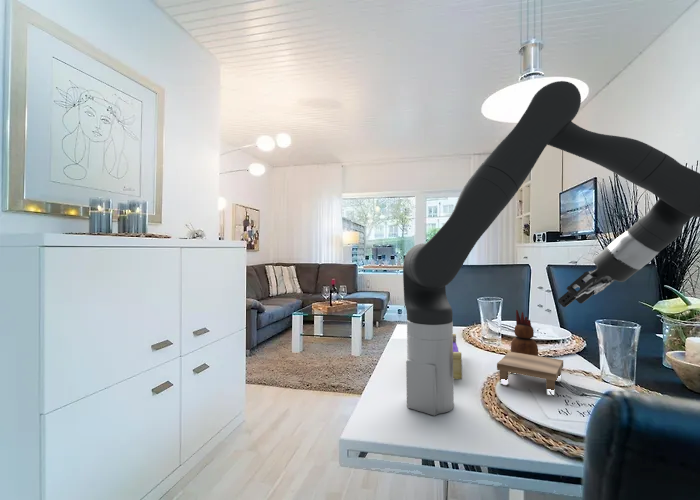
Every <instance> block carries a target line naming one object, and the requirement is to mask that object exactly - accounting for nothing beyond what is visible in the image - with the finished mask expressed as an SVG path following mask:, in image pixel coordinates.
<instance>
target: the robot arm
mask: <svg viewBox="0 0 700 500" xmlns="http://www.w3.org/2000/svg"><path fill="white" fill-rule="evenodd" d="M581 104H582V97H581V93H580V90H579V88H578V87H577V86H576V85H575V84H573V83H572V82H571V81H565V80H561V81H553V82H551V83H548V84H546V85H545V86H542V87H541V88H540V89H539V90H538V91H537V92H536V93H535V94H534V96H533V97H532V98H531V100H530V103H529V104H528V105H527V108H526V110H525V111H524V113H523V114H522V116H521V117H520V118H519V121H518V122H517V123H516V124H515V126H514V127H513V128H512V130H511V131H510V132H509V133H508V135H506V137H505V138H504V139H502V140H501V142H500V143H499V144H498V145H497V146H496V147H495V148H494V149H493V150H492V151H491V153H490V154H489V155H488V156H487V157H486V159H484V160H483V162H482V163H481V164H480V165H479V167H478V168H476V171H475V172H474V173H473V174H472V175H471V176H470V178H468V180H467V182H466V184H465V185H464V186H463V188H462V190H461V192H460V194H459V196H458V198H457V201H456V203H455V206H454V207H453V208H454V209H453V210H452V213H451V214H450V216H449V218H447V221H445V223H444V224H443V225H442V226H441V227H440V228H439V230H438V231H437V232H436V233H435V234H434V235H433V236H432V237H431V238H430V239H429V240H428V241H427V242H425V243H419V244H415V245H413V246H412V247H411V248H410V249H409V250H408V251H407V252H406V254H405V256H404V258H403V265H402V275H403V276H402V277H403V278H402V280H403V281H402V283H403V301H404V307H405V311H406V333H407V334H406V343H407V345H406V347H407V348H406V351H407V352H406V353H407V356H406V357H407V360H406V362H405V363H406V364H405V366H406V368H405V370H406V371H405V372H406V373H405V374H406V377H405V378H406V407H407V408H408V409H411V410H414V411H418V412H421V413H425V414H428V415H431V416H437V415H439V414H443V413H449V412H450V411H452V410H453V409H454V407H455V405H454V404H455V402H454V394H455V392H454V379H453V334H454V325H453V324H454V322H453V316H454V314H453V308H452V305H451V304H450V303H449V299H448V297H447V293H446V291H447V290H446V286H448V285H449V284H450V283H452V281H453V280H454V279H455V278H456V276H457V275H458V273H459V271H460V270H461V269H462V266H463V264H464V263H465V261H466V260H467V258H468V257H469V255H470V253H471V252H472V250H473V248H474V247H475V245H476V244H477V243H478V242H479V240H480V238H481V237H482V236H483V234H484V233H485V232H487V230H488V229H489V228H490V227H491V225H492V224H493V223H494V222H495V220H496V219H497V217H498V216H499V215H500V214H501V212H502V211H503V210H504V209H505V208H506V207H507V206H508V204H509V203H510V202H511V200H512V199H513V198H514V196H515V195H516V193H517V192H518V191H519V190H520V188H521V187H522V185H523V184H524V182H525V181H526V179H527V178H528V176H529V175H530V173H531V172H532V170H533V168H534V167H535V165H536V163H537V162H538V160H539V158H540V156H541V155H542V153H543V152H544V150H545V148H546V147H547V146H550V147H552V148H555V149H558V150H560V151H564V152H566V153H568V154H572V155H575V156H576V157H579V158H581V159H585V160H587V161H590V162H592V163H594V164H595V165H599V166H601V167H603V168H605V169H606V170H609V171H611V172H612V173H614V174H615V175H618V176H619V177H620V178H621V177H622V178H623V179H625V180H627V181H628V182H629V183H632V184H634V185H635V186H637V187H638V188H639V187H640V188H641V189H643V190H645V191H648V192H650V193H651V194H653V195H654V196H656V197H657V198H658V200H657V201H656V202H655V203H654V204H653V205H652V207H651V208H650V209H649V211H648V212H647V213H646V214H645V215H644V216H641V218H640V219H639V220H638V221H635V223H634V224H633V225H631V226H630V227H629V228H628V229H627V230H626V231H624V232H623V233H622V234H619V236H618V237H616V238H615V239H614V240H613V241H611V243H609V245H607V246H606V247H605V248H604V249H603V250H602V251H600V252H599V253H598V254H597V255H596V256H595V257H594V258H593V263H594V265H595V266H596V269H593V270H590V271H585V272H583V273H582V274H581V275H580V276H579V277H578V278H577V279H575V280H574V281H573V282H572V283H571V284H570V285H569V286H567V287H566V290H567V291H566V292H565V293H564V294H563V295H562V296H561V297H560V298H558V299H557V302H558V303H559V305H561V306H562V307H563V308H567V307H568V306H569V305H571V304H572V303H573V302H574V301H575V300H576V301H577V302H578V303H579V304H583V303H585V302H586V301H587V300H589V299H590V298H591V297H592V296H594V295H597V294H598V293H601V292H603V291H604V290H605V289H607V287H609V286H610V285H612V284H613V283H614V282H619V283H620V282H621V283H623V282H626V281H627V280H628V279H630V278H631V277H632V276H633V275H634V274H636V273H637V272H638V271H640V270H642V269H643V267H645V266H646V265H647V264H649V263H650V262H651V261H652V260H653V259H654V258H655V257H656V256H657V255H658V254H659V253H661V251H663V250H664V249H665V248H666V247H667V246H670V244H671V243H673V242H674V241H675V240H676V239H677V238H679V236H680V235H681V234H682V230H683V227H684V225H686V224H687V223H688V222H689V221H690V220H691V219H692V218H693V217H694V218H695V217H696V218H700V172H698V171H695V170H694V169H691V168H690V167H687V166H685V165H683V164H681V163H680V162H679V161H677V160H676V159H675V158H674V157H672V156H670V155H669V154H667V153H665V152H663V151H661V150H659V149H657V148H656V147H653V146H652V145H650V144H648V143H646V142H643V141H641V140H637V139H635V138H631V137H626V136H619V135H612V134H611V135H610V134H604V133H598V132H595V131H591V130H588V129H585V128H583V127H581V126H579V125H578V124H576V123H574V122H573V120H574V119H575V118H576V117H577V114H578V113H579V110H580V108H581ZM577 288H579V289H578V290H576V289H577Z"/></svg>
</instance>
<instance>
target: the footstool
mask: <svg viewBox="0 0 700 500" xmlns="http://www.w3.org/2000/svg"><path fill="white" fill-rule="evenodd" d="M563 368H564V359H558V358H552V357H546V356H541V355H538V356H534V355H528V354H522V353H515V352H511V351H509V352H508V353H507V354H505V355H504V356H503V357H502V358H501V359H500V360H499V361H497V363H496V370H497V371H499V381H500V380H501V379H505V380H507V379H508V380H509V373H510V372H511V373H510V374H512V373H516V374H515V375H523V376H526V377H533V378H538V379H544V380H545V390H546V389H551V390H554V389H555V390H556V382H555V381H556V380H557V378H558V376H560V375H561V376H562V370H563Z"/></svg>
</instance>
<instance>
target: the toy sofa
mask: <svg viewBox="0 0 700 500" xmlns="http://www.w3.org/2000/svg"><path fill="white" fill-rule="evenodd" d="M462 355H463V354H462V352H461V351H459V347H458V344H457V334H456V333H453V380H462V379H463V375H462V374H463V371H462V369H463V367H462V361H463V360H462Z"/></svg>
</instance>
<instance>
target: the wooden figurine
mask: <svg viewBox="0 0 700 500" xmlns="http://www.w3.org/2000/svg"><path fill="white" fill-rule="evenodd" d="M519 313H520V312H519V311H518V309H516V310H515V315H516V316H515V321H516V322H515V324H516V325H515V326H514V330H513V332H514V335H515V337H513V338H512V340H511V343H510V352H515V353H522V354H528V355H534V356H539V347H538V344H537V342H536V341H535V340H534V339H533V337H534V336H535V335H534V333H535V332H534V327H533V326H532V323H531V322H532V321H531V319H528V317H527V316H525V315H524V312H523V311H522V312H521V316H520V314H519Z"/></svg>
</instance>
